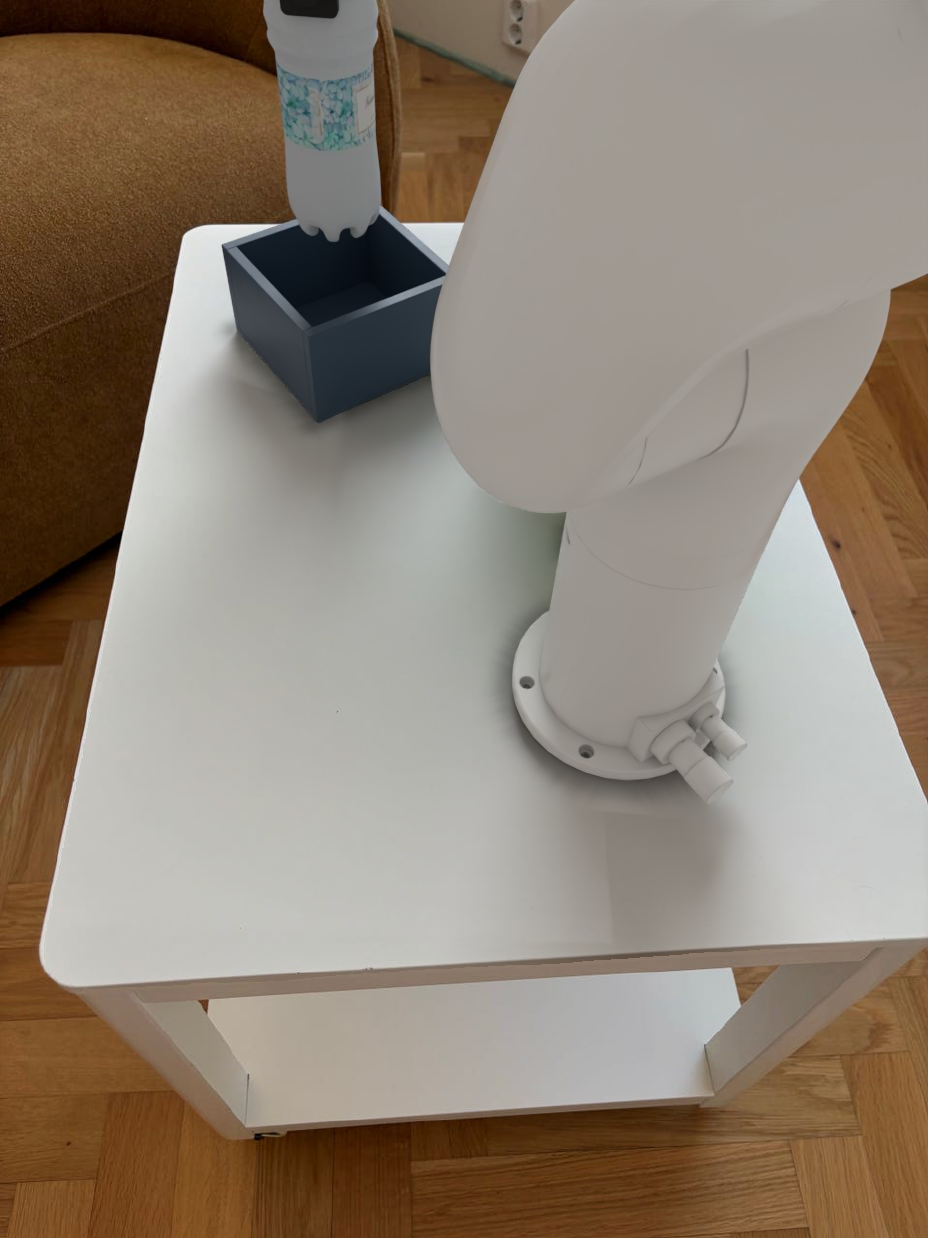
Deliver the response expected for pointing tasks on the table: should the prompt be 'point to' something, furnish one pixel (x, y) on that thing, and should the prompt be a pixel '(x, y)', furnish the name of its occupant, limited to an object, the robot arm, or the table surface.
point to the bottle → (328, 115)
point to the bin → (337, 309)
